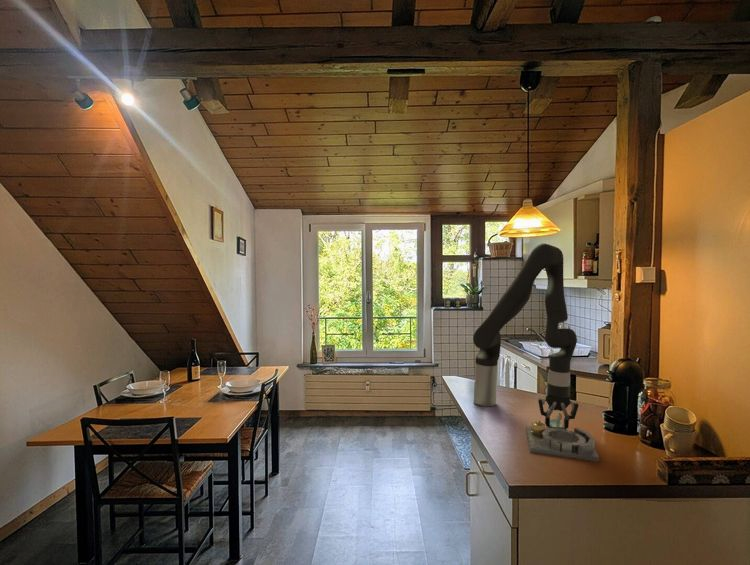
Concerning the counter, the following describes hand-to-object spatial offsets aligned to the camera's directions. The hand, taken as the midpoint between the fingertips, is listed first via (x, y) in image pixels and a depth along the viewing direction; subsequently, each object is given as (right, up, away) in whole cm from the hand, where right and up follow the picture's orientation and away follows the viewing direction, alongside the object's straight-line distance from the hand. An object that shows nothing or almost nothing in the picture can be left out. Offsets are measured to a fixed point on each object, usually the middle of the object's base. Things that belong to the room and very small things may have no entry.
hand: (556, 427), depth 152 cm
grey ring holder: (-5, -1, -13) cm, 14 cm away
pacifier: (-1, -1, 0) cm, 1 cm away
